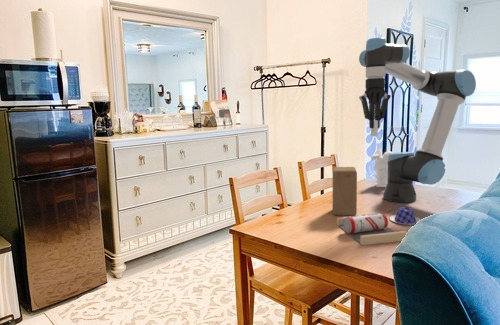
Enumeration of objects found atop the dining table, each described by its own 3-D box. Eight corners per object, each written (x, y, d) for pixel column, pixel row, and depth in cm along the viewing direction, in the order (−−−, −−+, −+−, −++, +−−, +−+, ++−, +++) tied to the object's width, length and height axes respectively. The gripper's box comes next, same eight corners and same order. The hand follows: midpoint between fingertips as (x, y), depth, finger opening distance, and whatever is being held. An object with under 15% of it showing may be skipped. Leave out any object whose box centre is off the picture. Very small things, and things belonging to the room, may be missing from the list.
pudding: (425, 226, 145) (425, 213, 144) (393, 226, 146) (393, 213, 145) (416, 216, 156) (416, 204, 155) (386, 216, 158) (387, 204, 157)
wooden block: (356, 216, 159) (357, 170, 155) (332, 215, 161) (332, 170, 157) (354, 209, 168) (355, 166, 165) (332, 209, 170) (332, 166, 167)
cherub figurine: (395, 187, 205) (397, 148, 201) (376, 189, 202) (377, 150, 198) (382, 182, 217) (383, 145, 213) (363, 184, 213) (364, 147, 209)
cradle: (375, 220, 152) (375, 213, 152) (406, 240, 131) (407, 232, 130) (336, 224, 149) (336, 217, 149) (362, 245, 128) (362, 237, 128)
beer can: (341, 215, 141) (379, 211, 145) (342, 232, 141) (380, 227, 145) (349, 218, 135) (388, 213, 139) (350, 235, 135) (389, 230, 139)
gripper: (385, 78, 154) (383, 134, 158) (356, 79, 152) (355, 136, 156) (395, 77, 147) (393, 135, 151) (364, 78, 145) (364, 137, 149)
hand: (374, 136), depth 154 cm, fingers closed
